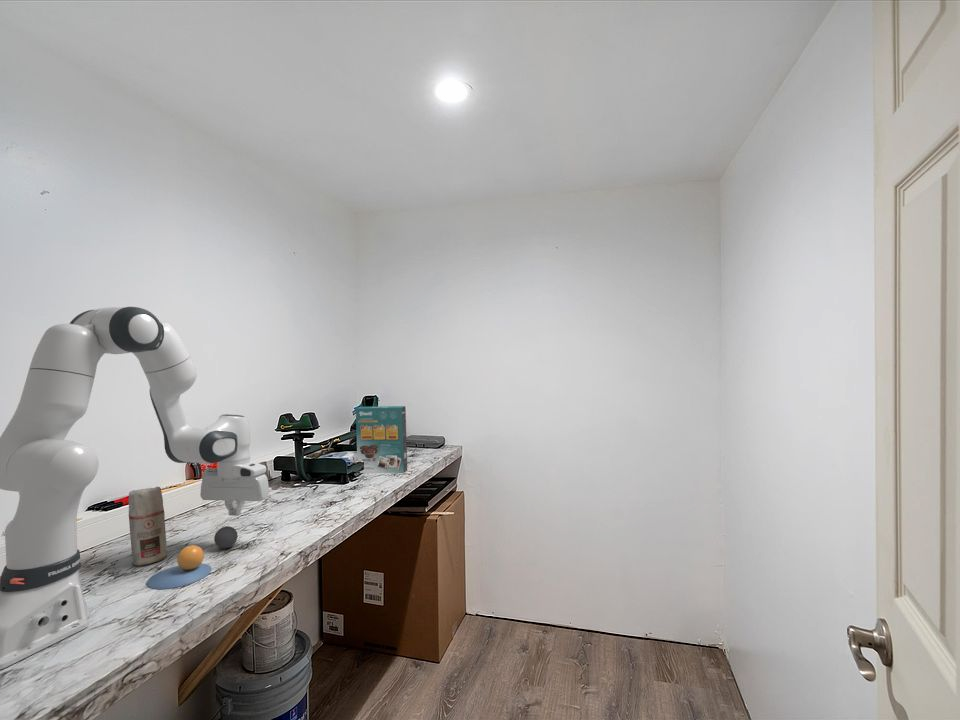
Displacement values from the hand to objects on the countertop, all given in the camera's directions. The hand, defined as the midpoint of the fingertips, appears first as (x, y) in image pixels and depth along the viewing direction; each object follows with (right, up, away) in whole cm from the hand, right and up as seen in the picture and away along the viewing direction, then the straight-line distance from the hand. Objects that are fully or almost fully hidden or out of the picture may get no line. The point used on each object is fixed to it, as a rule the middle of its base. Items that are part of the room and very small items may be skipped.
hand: (234, 515), depth 147 cm
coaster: (-14, -8, +36) cm, 40 cm away
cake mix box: (+28, -6, +83) cm, 87 cm away
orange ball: (-3, -5, -18) cm, 19 cm away
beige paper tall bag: (-18, -9, -12) cm, 23 cm away
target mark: (-3, -9, -22) cm, 24 cm away
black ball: (0, -5, -4) cm, 7 cm away
